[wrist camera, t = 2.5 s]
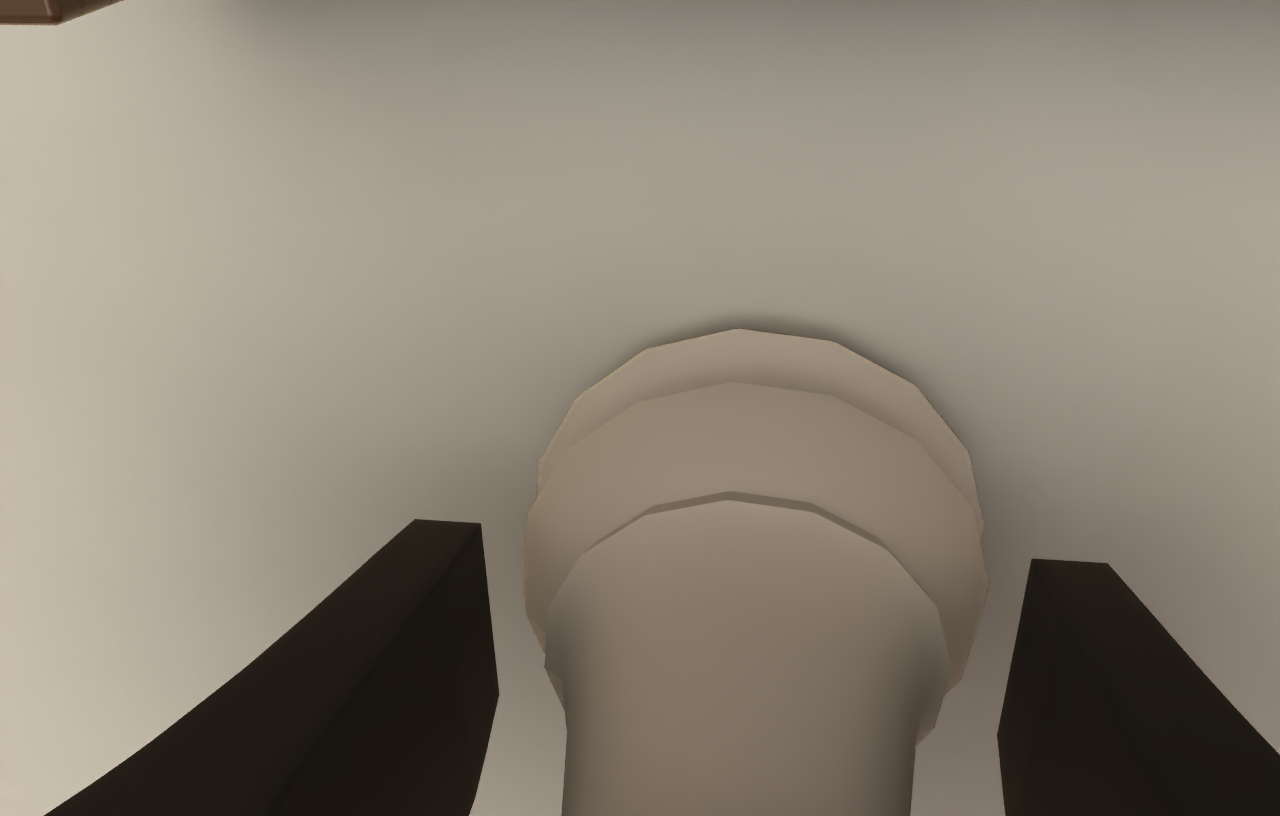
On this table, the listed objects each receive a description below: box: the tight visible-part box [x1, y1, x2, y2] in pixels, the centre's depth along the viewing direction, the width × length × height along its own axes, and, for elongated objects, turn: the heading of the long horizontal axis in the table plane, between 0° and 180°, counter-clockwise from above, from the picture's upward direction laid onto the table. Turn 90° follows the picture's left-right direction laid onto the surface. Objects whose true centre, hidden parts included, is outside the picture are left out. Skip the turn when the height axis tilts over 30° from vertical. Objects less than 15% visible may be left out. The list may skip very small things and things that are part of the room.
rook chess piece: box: [524, 328, 989, 816], centre depth 8 cm, size 4×4×8 cm
